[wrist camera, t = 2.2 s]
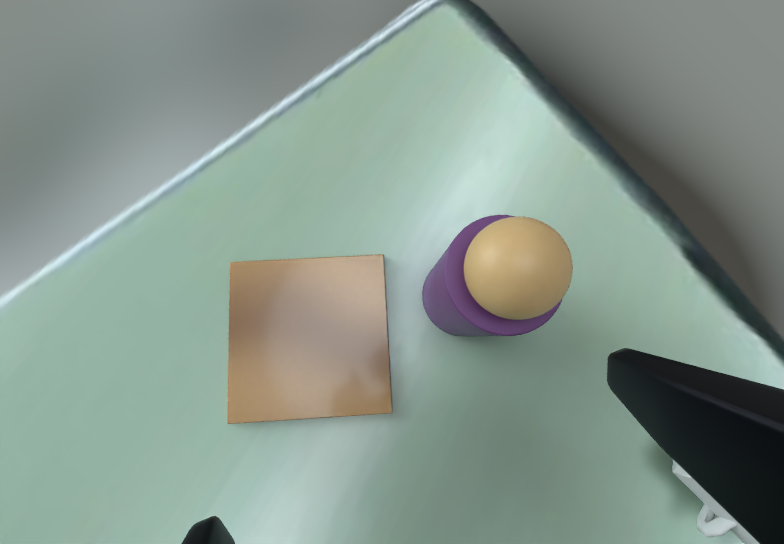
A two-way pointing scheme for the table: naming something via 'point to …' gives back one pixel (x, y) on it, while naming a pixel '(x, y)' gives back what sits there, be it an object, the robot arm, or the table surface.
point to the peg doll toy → (499, 278)
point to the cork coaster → (308, 339)
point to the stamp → (712, 511)
